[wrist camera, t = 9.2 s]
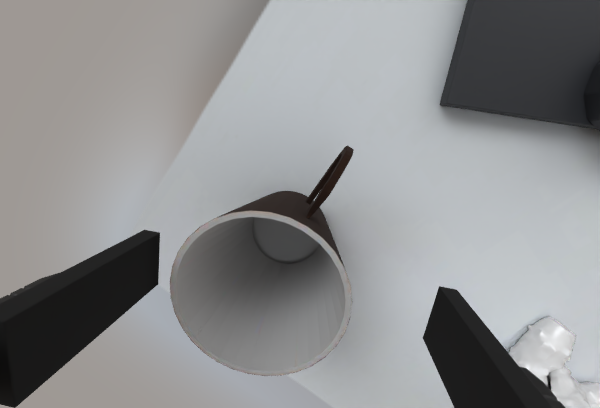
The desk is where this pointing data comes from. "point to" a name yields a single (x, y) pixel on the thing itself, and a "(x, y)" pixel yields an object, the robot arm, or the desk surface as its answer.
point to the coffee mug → (265, 283)
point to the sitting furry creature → (554, 363)
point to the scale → (528, 60)
